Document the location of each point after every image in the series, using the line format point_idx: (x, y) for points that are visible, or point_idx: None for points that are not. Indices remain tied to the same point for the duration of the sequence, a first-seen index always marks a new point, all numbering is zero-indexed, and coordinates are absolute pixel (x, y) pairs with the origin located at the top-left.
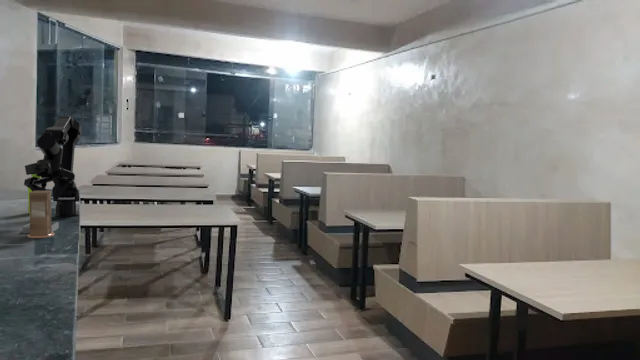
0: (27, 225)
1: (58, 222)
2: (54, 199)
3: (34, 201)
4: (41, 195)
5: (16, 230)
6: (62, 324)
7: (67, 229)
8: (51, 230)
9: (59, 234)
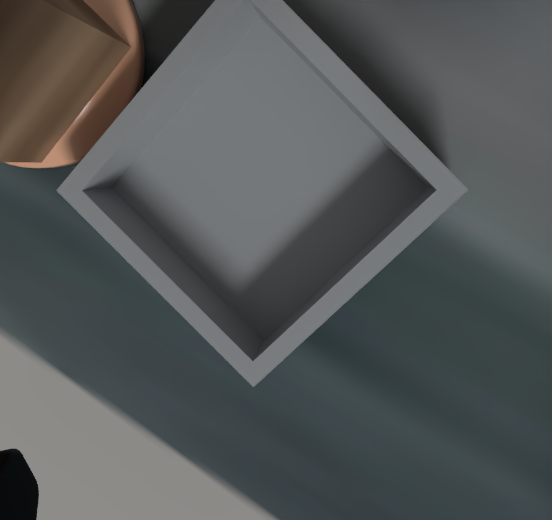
0: (308, 59)
1: (251, 382)
2: (9, 452)
3: None
4: None
5: (512, 52)
6: None
7: (180, 385)
8: (25, 158)
9: (26, 214)
